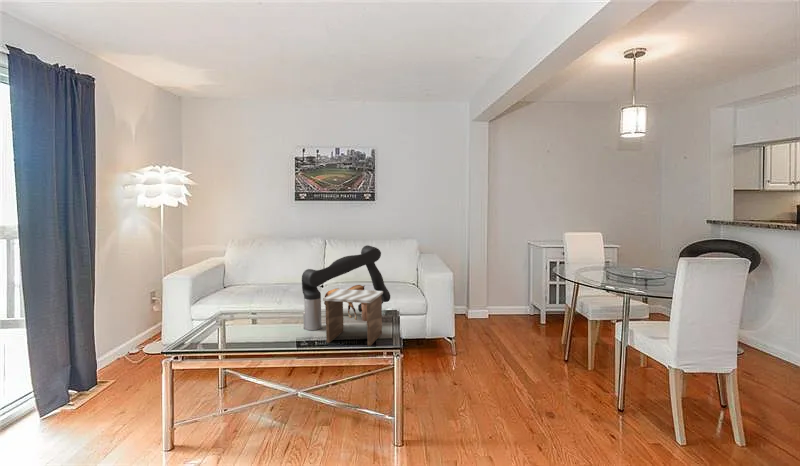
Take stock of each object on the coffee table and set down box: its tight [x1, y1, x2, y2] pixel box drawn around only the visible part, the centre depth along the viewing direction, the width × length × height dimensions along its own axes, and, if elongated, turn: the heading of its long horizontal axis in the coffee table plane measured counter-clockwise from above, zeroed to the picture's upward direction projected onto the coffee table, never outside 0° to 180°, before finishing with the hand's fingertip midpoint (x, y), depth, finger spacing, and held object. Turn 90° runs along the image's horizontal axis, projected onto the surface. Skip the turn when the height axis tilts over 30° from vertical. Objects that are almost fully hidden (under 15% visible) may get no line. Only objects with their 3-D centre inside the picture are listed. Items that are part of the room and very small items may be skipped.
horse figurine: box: [323, 284, 366, 321], centre depth 291 cm, size 31×8×21 cm, turn 61°
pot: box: [361, 303, 367, 322], centre depth 275 cm, size 7×7×15 cm
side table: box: [322, 288, 383, 347], centre depth 249 cm, size 25×22×23 cm
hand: (365, 310), depth 273 cm, fingers closed on pot, 6 cm apart
